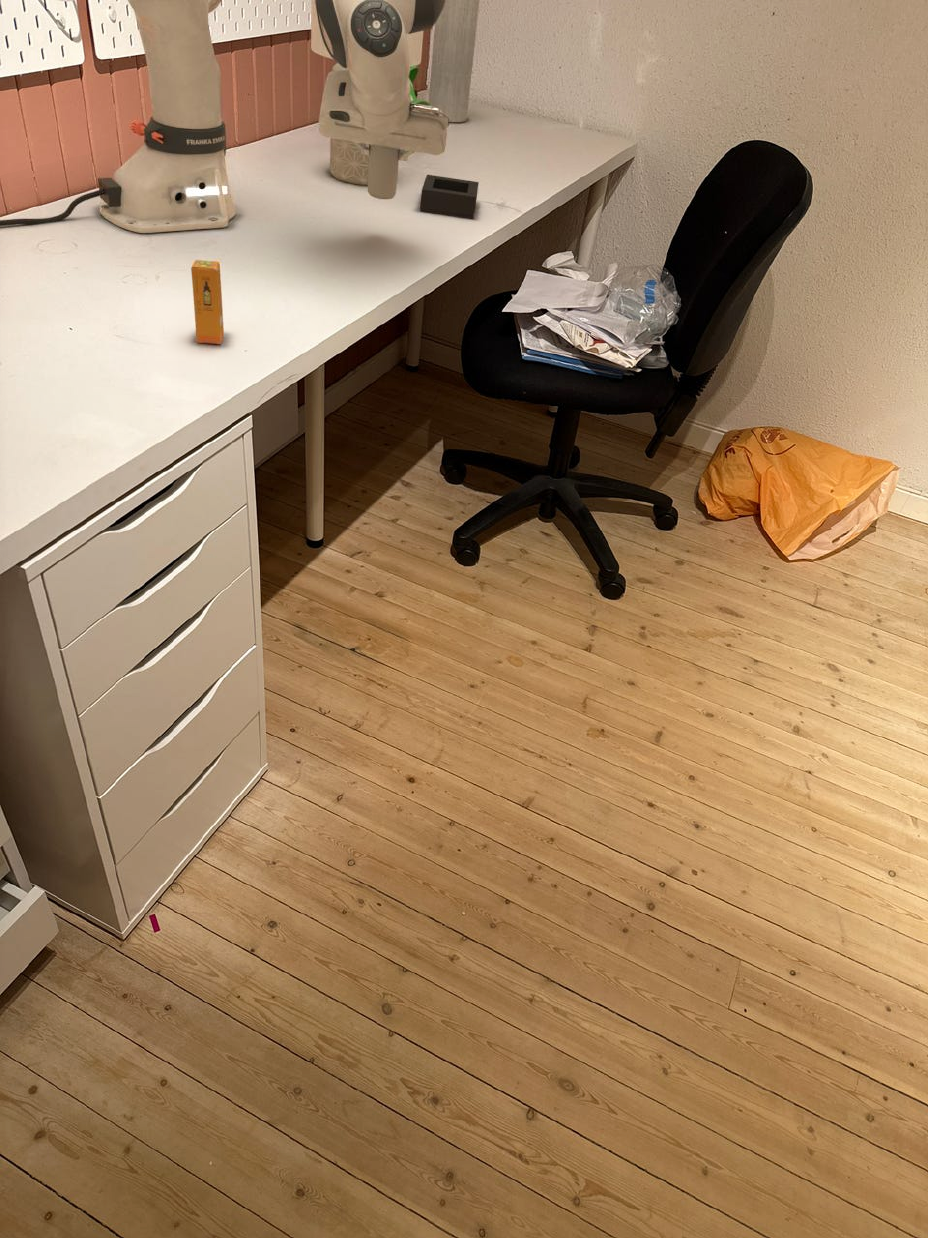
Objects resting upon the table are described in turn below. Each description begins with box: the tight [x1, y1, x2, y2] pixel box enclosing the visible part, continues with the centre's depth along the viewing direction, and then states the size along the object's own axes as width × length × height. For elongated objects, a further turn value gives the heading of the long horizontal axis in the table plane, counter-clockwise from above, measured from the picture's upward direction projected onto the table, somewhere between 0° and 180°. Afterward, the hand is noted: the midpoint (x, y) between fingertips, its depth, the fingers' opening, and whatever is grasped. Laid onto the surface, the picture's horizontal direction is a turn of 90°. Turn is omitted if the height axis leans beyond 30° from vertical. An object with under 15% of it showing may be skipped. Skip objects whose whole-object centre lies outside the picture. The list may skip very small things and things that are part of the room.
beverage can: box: [366, 144, 400, 200], centre depth 152 cm, size 5×5×12 cm
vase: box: [427, 0, 480, 124], centre depth 226 cm, size 10×10×27 cm
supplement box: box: [190, 259, 225, 345], centre depth 120 cm, size 3×3×10 cm
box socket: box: [419, 174, 479, 220], centre depth 177 cm, size 10×10×4 cm
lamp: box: [310, 0, 424, 186], centre depth 174 cm, size 21×21×42 cm
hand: (384, 153), depth 153 cm, fingers closed on beverage can, 5 cm apart
